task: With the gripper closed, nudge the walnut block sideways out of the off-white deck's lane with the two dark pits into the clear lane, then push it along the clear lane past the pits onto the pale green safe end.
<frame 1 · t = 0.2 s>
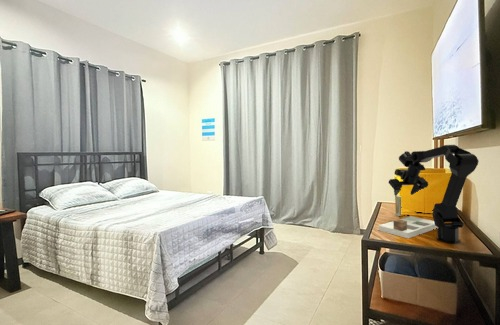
hand: (403, 194, 140), 15 cm above the table, tool tilted 30°, fingers open, 9 cm apart
walnut block: (400, 229, 120), point 2 cm above the table, touching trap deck
skincare box: (402, 216, 152), on the table
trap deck: (409, 228, 128), on the table
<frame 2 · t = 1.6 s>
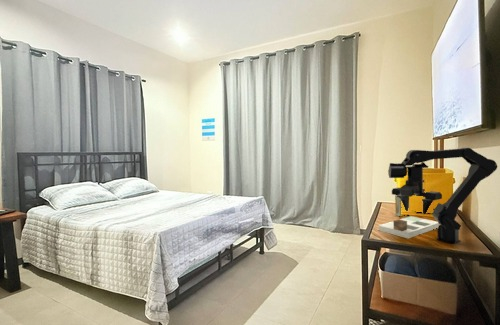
hand: (415, 212, 114), 12 cm above the table, tool pointing down, fingers open, 7 cm apart
nothing on the table moved.
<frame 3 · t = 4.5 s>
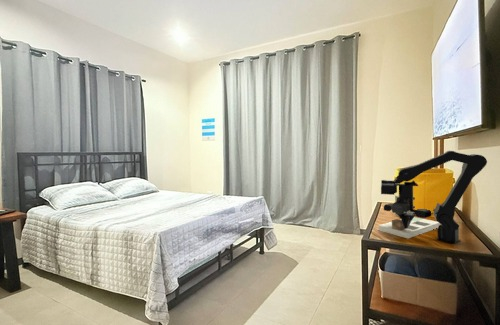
hand: (406, 228, 118), 4 cm above the table, tool pointing down, fingers closed
walnut block: (398, 228, 121), point 3 cm above the table, touching gripper
everything else where it was.
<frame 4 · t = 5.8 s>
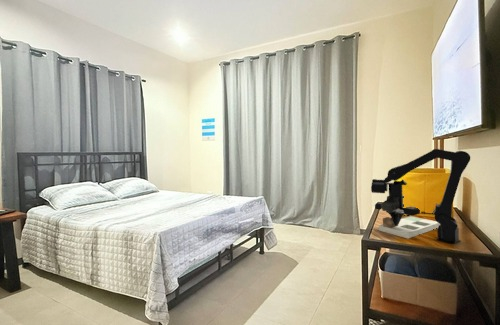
hand: (396, 226, 122), 4 cm above the table, tool pointing down, fingers closed
walnut block: (389, 226, 125), point 2 cm above the table, touching gripper, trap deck
everything else where it was.
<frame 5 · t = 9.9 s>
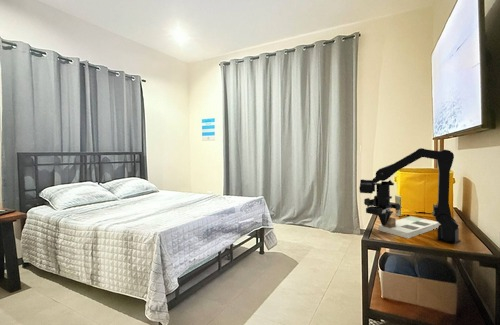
hand: (383, 225, 124), 3 cm above the table, tool pointing down, fingers closed
nothing on the table moved.
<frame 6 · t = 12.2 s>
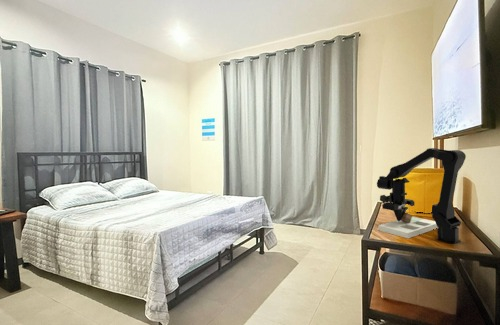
hand: (398, 220, 130), 4 cm above the table, tool pointing down, fingers closed
walnut block: (403, 220, 130), point 3 cm above the table, tilted 29°, touching gripper, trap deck
everything else where it was.
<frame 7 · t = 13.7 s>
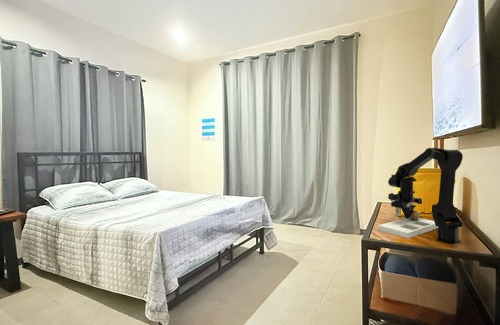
hand: (406, 218, 133), 4 cm above the table, tool pointing down, fingers closed
walnut block: (411, 218, 133), point 3 cm above the table, tilted 28°, touching gripper
everything else where it was.
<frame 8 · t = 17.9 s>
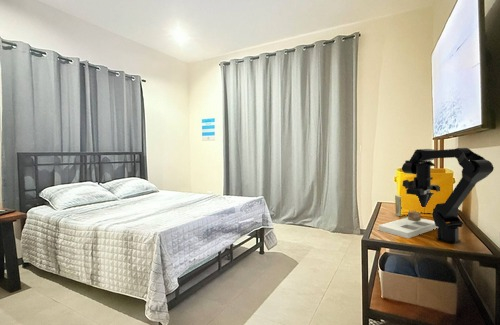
hand: (423, 207, 122), 12 cm above the table, tool pointing down, fingers closed
walnut block: (414, 219, 134), point 2 cm above the table, touching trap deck
everything else where it was.
at the end: walnut block 2.0 cm from the target spot, point 2.5 cm above the table; walnut block tilted 0° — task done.
